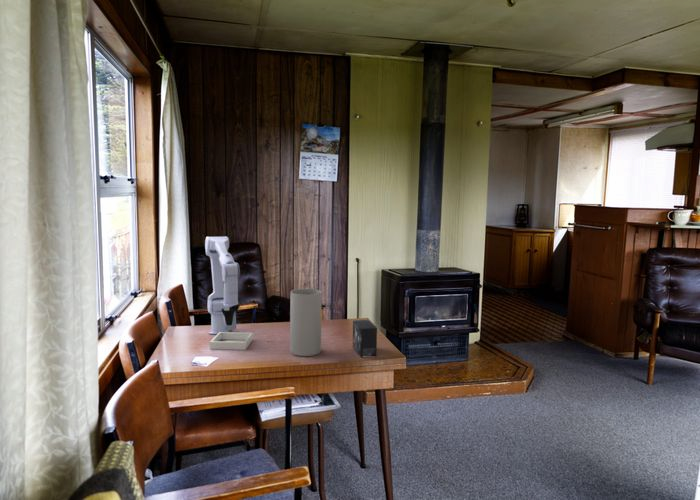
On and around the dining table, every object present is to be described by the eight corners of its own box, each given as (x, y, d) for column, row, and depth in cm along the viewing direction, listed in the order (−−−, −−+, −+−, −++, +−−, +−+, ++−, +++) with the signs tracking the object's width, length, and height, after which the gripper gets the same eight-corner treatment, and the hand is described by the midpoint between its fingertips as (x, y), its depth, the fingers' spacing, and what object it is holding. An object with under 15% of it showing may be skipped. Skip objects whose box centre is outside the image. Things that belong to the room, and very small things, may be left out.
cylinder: (225, 326, 212) (225, 310, 212) (237, 326, 212) (236, 310, 212) (223, 330, 207) (222, 313, 207) (235, 329, 207) (234, 313, 207)
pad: (225, 341, 214) (225, 340, 214) (242, 341, 214) (242, 341, 214) (221, 346, 207) (221, 345, 207) (238, 346, 207) (238, 346, 207)
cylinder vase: (325, 354, 200) (327, 293, 197) (297, 358, 194) (298, 295, 191) (312, 346, 211) (313, 288, 208) (285, 349, 204) (285, 290, 202)
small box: (351, 347, 209) (352, 320, 208) (367, 347, 211) (368, 319, 210) (360, 357, 197) (361, 328, 196) (377, 356, 199) (377, 327, 197)
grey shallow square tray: (219, 338, 218) (219, 332, 218) (252, 339, 218) (252, 332, 218) (209, 348, 203) (209, 341, 203) (245, 349, 203) (245, 342, 203)
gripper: (225, 288, 215) (225, 319, 217) (216, 295, 201) (216, 327, 202) (241, 288, 215) (241, 319, 217) (233, 295, 201) (233, 328, 202)
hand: (230, 323), depth 210 cm, fingers closed on cylinder, 5 cm apart
